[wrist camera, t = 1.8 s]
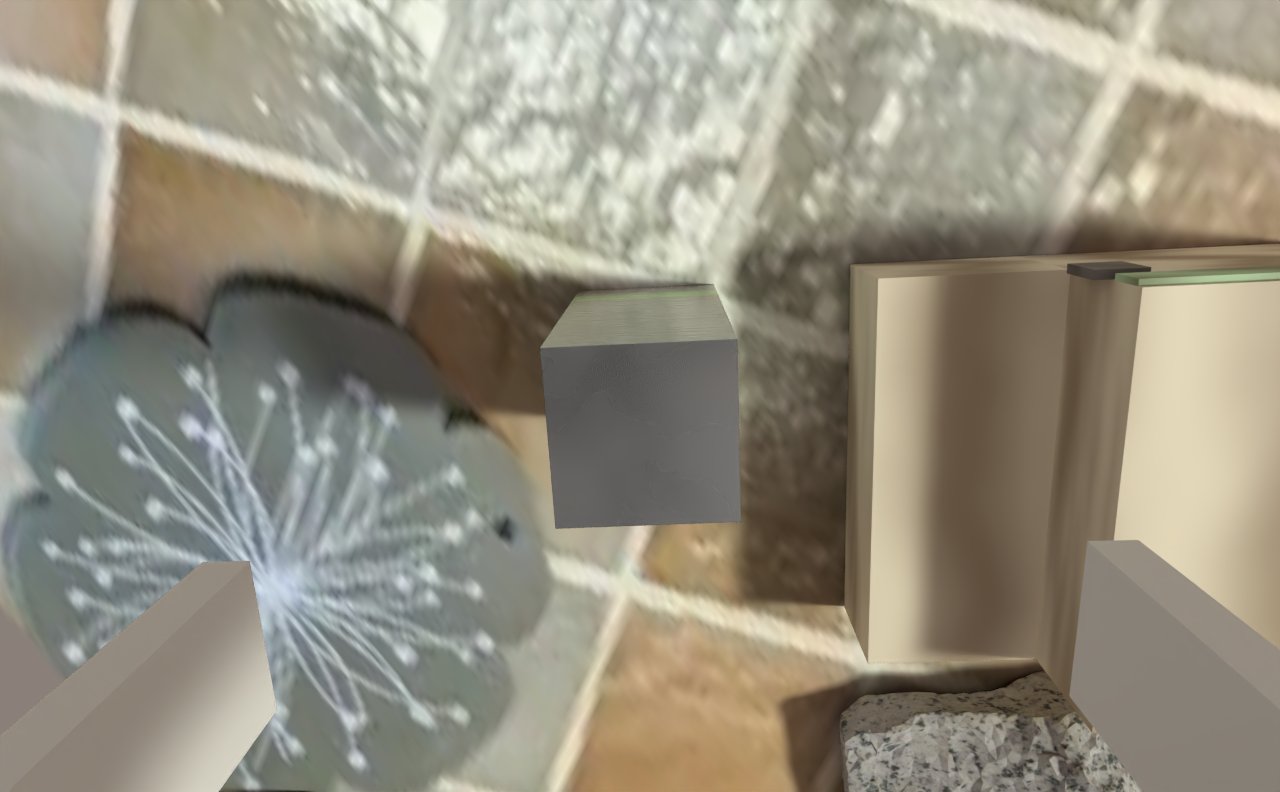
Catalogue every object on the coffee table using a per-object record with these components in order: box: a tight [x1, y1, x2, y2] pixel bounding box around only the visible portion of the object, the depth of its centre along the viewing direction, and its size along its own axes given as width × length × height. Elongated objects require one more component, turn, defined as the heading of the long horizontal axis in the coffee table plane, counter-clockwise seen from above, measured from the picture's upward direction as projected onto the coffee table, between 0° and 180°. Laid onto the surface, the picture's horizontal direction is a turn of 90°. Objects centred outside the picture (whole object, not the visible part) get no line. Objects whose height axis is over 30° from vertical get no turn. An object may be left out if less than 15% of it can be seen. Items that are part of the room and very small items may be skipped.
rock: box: [839, 671, 1143, 792], centre depth 33 cm, size 13×10×5 cm
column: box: [540, 284, 741, 529], centre depth 26 cm, size 5×5×10 cm
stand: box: [844, 244, 1280, 733], centre depth 27 cm, size 16×14×8 cm
